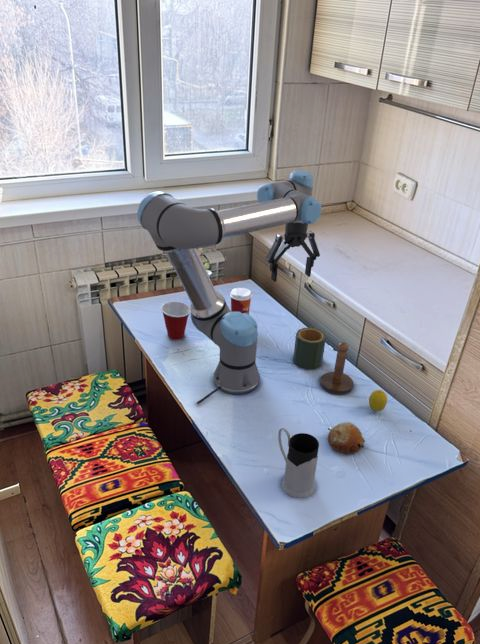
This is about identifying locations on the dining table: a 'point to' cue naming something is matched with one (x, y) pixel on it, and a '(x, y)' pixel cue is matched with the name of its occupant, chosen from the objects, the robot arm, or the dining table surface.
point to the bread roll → (346, 438)
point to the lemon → (378, 400)
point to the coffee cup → (240, 300)
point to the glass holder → (300, 464)
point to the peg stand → (338, 374)
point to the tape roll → (309, 348)
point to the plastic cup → (175, 318)
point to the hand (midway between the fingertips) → (290, 277)
